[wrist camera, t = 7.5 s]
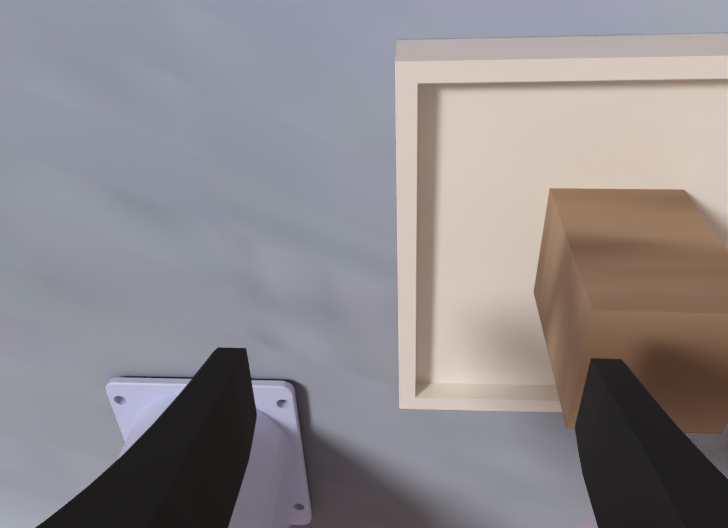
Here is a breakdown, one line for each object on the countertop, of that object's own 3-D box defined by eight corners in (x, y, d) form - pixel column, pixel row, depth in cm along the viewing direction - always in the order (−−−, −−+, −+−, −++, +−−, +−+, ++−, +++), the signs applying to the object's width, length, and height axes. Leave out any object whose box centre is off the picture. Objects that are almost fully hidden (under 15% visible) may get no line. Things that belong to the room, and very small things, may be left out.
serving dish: (739, 377, 25) (762, 417, 24) (400, 371, 26) (399, 408, 25) (877, 30, 18) (923, 51, 16) (397, 40, 19) (395, 61, 17)
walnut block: (653, 295, 22) (722, 433, 17) (533, 292, 22) (566, 428, 17) (683, 189, 20) (772, 314, 15) (549, 188, 20) (592, 310, 15)
